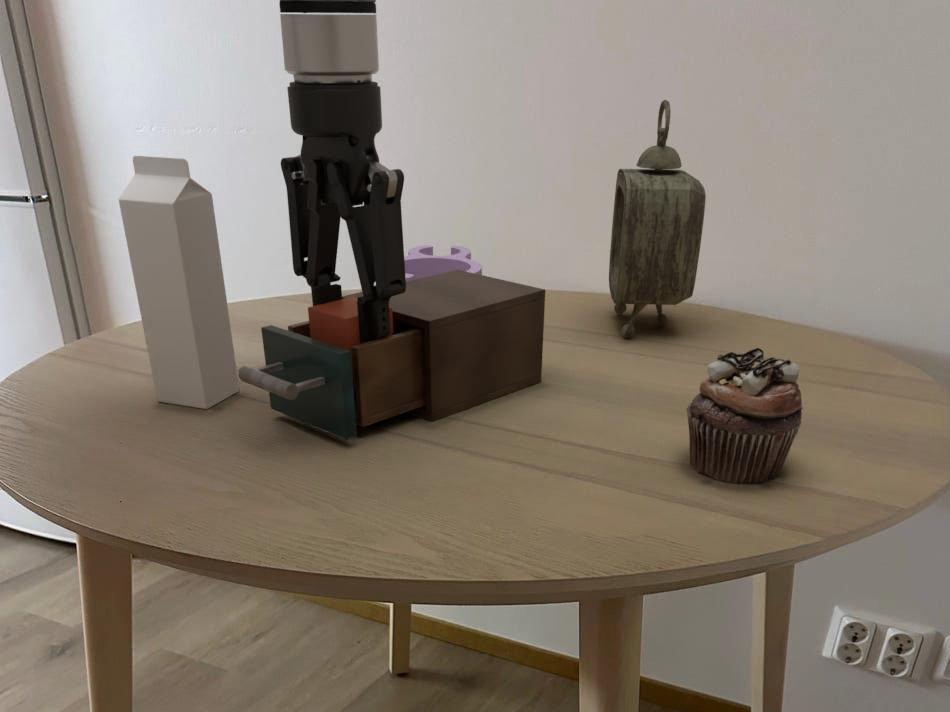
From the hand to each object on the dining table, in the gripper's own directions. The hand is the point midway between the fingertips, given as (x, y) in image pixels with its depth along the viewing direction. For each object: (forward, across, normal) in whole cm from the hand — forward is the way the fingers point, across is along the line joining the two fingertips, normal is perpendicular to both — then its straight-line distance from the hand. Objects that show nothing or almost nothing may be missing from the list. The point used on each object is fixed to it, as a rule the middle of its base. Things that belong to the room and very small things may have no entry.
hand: (353, 363), depth 88 cm
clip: (+6, +20, -30) cm, 37 cm away
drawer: (+4, 0, +1) cm, 4 cm away
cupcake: (+6, -33, -15) cm, 37 cm away
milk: (+5, +16, +8) cm, 19 cm away
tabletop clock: (+6, -2, -46) cm, 47 cm away
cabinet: (+5, 0, -12) cm, 13 cm away
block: (0, 0, 0) cm, 0 cm away
